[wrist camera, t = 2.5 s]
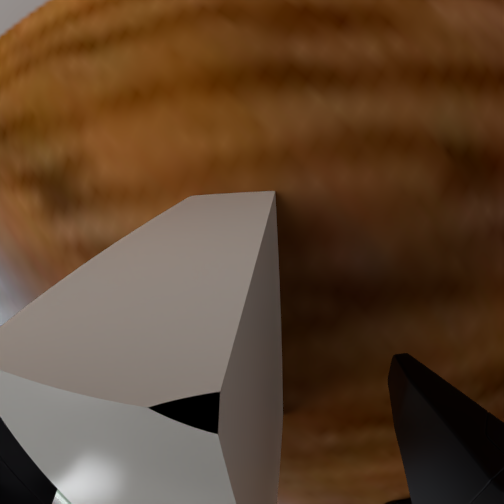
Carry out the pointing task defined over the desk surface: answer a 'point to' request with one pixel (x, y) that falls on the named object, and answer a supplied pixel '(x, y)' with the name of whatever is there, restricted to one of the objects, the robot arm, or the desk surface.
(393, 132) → the desk surface
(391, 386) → the robot arm
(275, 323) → the ceramic tile
